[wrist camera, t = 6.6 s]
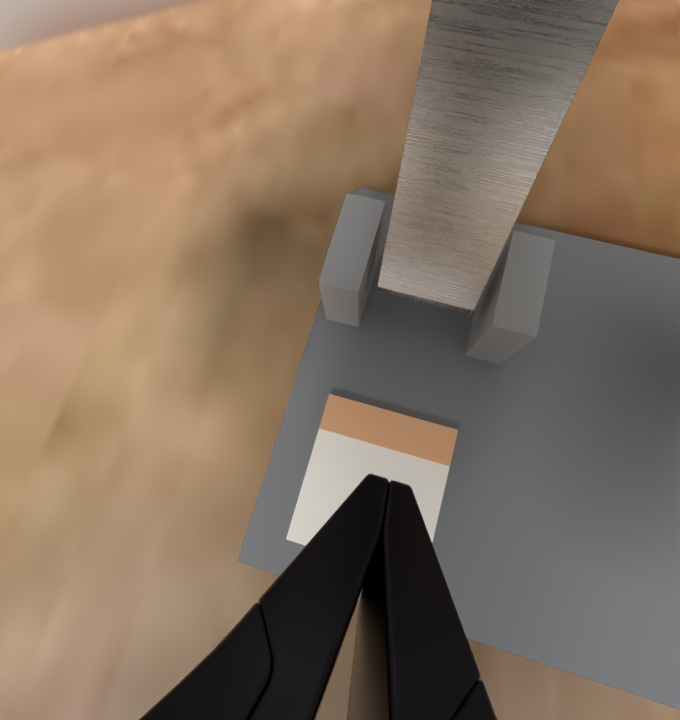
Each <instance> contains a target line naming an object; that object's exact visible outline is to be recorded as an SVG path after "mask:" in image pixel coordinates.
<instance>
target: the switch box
mask: <svg viewBox="0 0 680 720" xmlns="http://www.w3.org/2000/svg"><path fill="white" fill-rule="evenodd" d="M394 198H395V195H393V194H388V193H384V192H379V191H375V190H370V189H366V188H361V187H357V189H356V192H355V194H351V193H347V194H346V197H345V200H344V203H343V206H342V209H341V212H340V215H339V218H338V221H337V224H336V227H335V231H334V234H333V237H332V240H331V243H330V246H329V249H328V252H327V255H326V258H325V261H324V264H323V267H322V271H321V274H320V277H319V280H318V285H319V289H320V293H321V301H320V305H319V308H318V311H317V314H316V317H315V320H314V323H313V327H312V330H311V333H310V336H309V339H308V342H307V345H306V348H305V352H304V355H303V358H302V361H301V364H300V367H299V370H298V373H297V377H296V380H295V383H294V386H293V389H292V392H291V395H290V398H289V402H288V405H287V408H286V411H285V414H284V417H283V420H282V424H281V427H280V430H279V433H278V436H277V439H276V442H275V445H274V449H273V452H272V455H271V458H270V461H269V464H268V467H267V470H266V474H265V477H264V480H263V483H262V486H261V489H260V492H259V495H258V499H257V502H256V505H255V508H254V511H253V514H252V517H251V520H250V524H249V527H248V530H247V533H246V536H245V539H244V542H243V546H242V549H241V552H240V555H239V558H238V562H241V563H244V564H247V565H250V566H253V567H256V568H259V569H262V570H265V571H268V572H271V573H274V574H277V575H281V574H282V572H283V571H284V570H285V569H286V568H287V567H288V565H289V564H290V563H291V562H292V561H293V560H294V559H295V557H296V556H297V555H298V554H299V553H300V552H301V550H302V549H303V548H304V547H305V546H306V545H307V544H308V542H309V541H310V540H311V539H312V538H313V537H314V535H315V534H316V533H317V532H318V531H319V530H320V529H321V527H322V526H323V525H324V524H325V523H326V522H327V520H328V519H329V518H330V517H331V516H332V515H333V514H334V512H335V511H336V510H337V509H338V508H339V507H340V505H341V504H342V503H343V502H344V501H345V500H346V499H347V497H348V496H349V495H350V494H351V493H352V492H353V490H354V489H355V488H356V487H357V486H358V485H359V484H360V482H361V481H362V480H363V479H364V478H365V477H366V476H367V475H368V474H374V475H378V476H381V477H384V478H387V479H388V481H389V482H390V481H392V480H394V481H398V482H401V483H404V484H407V485H409V486H411V488H412V490H413V492H414V495H415V498H416V501H417V503H418V506H419V509H420V512H421V514H422V517H423V520H424V522H425V525H426V528H427V531H428V533H429V536H430V539H431V542H432V544H433V547H434V550H435V552H436V555H437V558H438V561H439V563H440V566H441V569H442V572H443V574H444V577H445V580H446V582H447V585H448V588H449V591H450V593H451V596H452V599H453V602H454V604H455V607H456V610H457V612H458V615H459V618H460V621H461V623H462V626H463V629H464V632H465V634H466V637H467V638H468V639H471V640H474V641H477V642H480V643H483V644H486V645H489V646H492V647H494V648H497V649H500V650H503V651H506V652H509V653H512V654H515V655H518V656H521V657H524V658H527V659H530V660H533V661H536V662H539V663H542V664H545V665H548V666H551V667H554V668H557V669H560V670H563V671H566V672H569V673H572V674H575V675H578V676H581V677H584V678H587V679H590V680H593V681H596V682H599V683H602V684H605V685H608V686H611V687H614V688H617V689H620V690H623V691H626V692H629V693H632V694H635V695H638V696H641V697H643V698H646V699H649V700H652V701H655V702H658V703H661V704H664V705H667V706H670V707H673V708H676V709H679V710H680V259H677V258H673V257H668V256H664V255H659V254H655V253H650V252H646V251H642V250H637V249H633V248H628V247H624V246H619V245H615V244H610V243H606V242H601V241H597V240H593V239H588V238H584V237H579V236H575V235H570V234H566V233H561V232H557V231H553V230H548V229H544V228H539V227H535V226H530V225H526V224H521V223H517V222H515V223H514V225H513V227H512V229H511V232H510V234H509V236H508V238H507V240H506V242H505V244H504V247H503V249H502V251H501V253H500V255H499V257H498V259H497V262H496V264H495V266H494V268H493V270H492V272H491V274H490V276H489V279H488V281H487V283H486V285H485V287H484V289H483V291H482V294H481V296H480V298H479V300H478V302H477V304H476V306H475V309H474V311H472V313H471V314H470V315H469V314H465V313H461V312H457V311H453V310H449V309H445V308H441V307H437V306H433V305H429V304H425V303H421V302H417V301H413V300H409V299H405V298H402V297H398V296H394V295H390V294H386V293H382V292H378V291H377V289H378V281H379V276H380V271H381V266H382V261H383V255H384V250H385V245H386V240H387V234H388V229H389V224H390V219H391V214H392V208H393V203H394ZM360 595H361V593H360ZM357 602H360V596H359V599H358V601H357Z"/></svg>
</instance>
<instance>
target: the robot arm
mask: <svg viewBox="0 0 680 720" xmlns="http://www.w3.org/2000/svg"><path fill="white" fill-rule="evenodd" d="M360 593H361V595H360ZM359 596H360V602H359V610H358V620H357V629H356V638H355V648H354V657H353V667H352V676H351V685H350V695H349V704H348V714H347V720H497V718H496V716H495V713H494V710H493V708H492V705H491V702H490V699H489V697H488V694H487V691H486V688H485V686H484V683H483V682H482V681H481V680H479V679H480V672H479V670H478V667H477V664H476V662H475V659H474V656H473V653H472V651H471V648H470V645H469V642H468V640H467V637H466V634H465V632H464V629H463V626H462V623H461V621H460V618H459V615H458V612H457V610H456V607H455V604H454V602H453V599H452V596H451V593H450V591H449V588H448V585H447V582H446V580H445V577H444V574H443V572H442V569H441V566H440V563H439V561H438V558H437V555H436V552H435V550H434V547H433V544H432V542H431V539H430V536H429V533H428V531H427V528H426V525H425V522H424V520H423V517H422V514H421V512H420V509H419V506H418V503H417V501H416V498H415V495H414V492H413V490H412V488H411V486H409V485H407V484H404V483H401V482H398V481H394V480H392V481H390V482H389V481H388V479H387V478H384V477H381V476H378V475H374V474H368V475H367V476H366V477H365V478H364V479H363V480H362V481H361V482H360V484H359V485H358V486H357V487H356V488H355V489H354V490H353V492H352V493H351V494H350V495H349V496H348V497H347V499H346V500H345V501H344V502H343V503H342V504H341V505H340V507H339V508H338V509H337V510H336V511H335V512H334V514H333V515H332V516H331V517H330V518H329V519H328V520H327V522H326V523H325V524H324V525H323V526H322V527H321V529H320V530H319V531H318V532H317V533H316V534H315V535H314V537H313V538H312V539H311V540H310V541H309V542H308V544H307V545H306V546H305V547H304V548H303V549H302V550H301V552H300V553H299V554H298V555H297V556H296V557H295V559H294V560H293V561H292V562H291V563H290V564H289V565H288V567H287V568H286V569H285V570H284V571H283V572H282V574H281V575H280V576H279V577H278V578H277V579H276V580H275V582H274V583H273V584H272V585H271V586H270V587H269V589H268V590H267V591H266V592H265V593H264V594H263V595H262V597H261V598H260V599H259V602H258V603H256V604H254V605H253V607H252V608H251V609H250V610H249V611H248V612H247V613H246V615H245V616H244V617H243V618H242V619H241V620H240V622H239V623H238V624H237V625H236V626H235V627H234V628H233V629H232V630H231V631H230V632H229V633H228V635H227V636H226V637H225V638H224V639H223V640H222V641H221V642H220V643H219V644H218V645H217V646H216V648H215V649H214V650H213V651H212V652H211V653H210V654H209V655H208V656H207V657H206V658H205V659H203V660H202V661H201V662H200V663H199V664H198V665H197V666H196V667H195V668H194V669H193V670H192V671H191V672H190V673H189V674H188V675H187V676H186V677H185V678H184V679H183V680H182V681H181V682H180V683H179V684H178V685H176V686H175V687H174V688H173V689H172V690H171V691H170V692H169V693H168V694H167V695H166V696H164V697H163V698H162V699H161V700H160V701H159V702H158V703H157V704H156V705H155V706H154V707H152V708H151V709H150V710H149V711H148V712H147V713H146V714H145V715H144V716H143V717H142V718H140V719H139V720H316V717H317V714H318V711H319V709H320V706H321V703H322V700H323V697H324V695H325V692H326V689H327V686H328V683H329V680H330V678H331V675H332V672H333V669H334V666H335V664H336V661H337V658H338V655H339V652H340V649H341V647H342V644H343V641H344V638H345V635H346V633H347V630H348V627H349V624H350V621H351V618H352V616H353V613H354V610H355V607H356V604H357V601H358V599H359ZM478 680H479V681H478Z"/></svg>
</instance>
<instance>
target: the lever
mask: <svg viewBox="0 0 680 720" xmlns="http://www.w3.org/2000/svg"><path fill="white" fill-rule="evenodd" d="M618 1H619V0H432V4H431V10H430V15H429V20H428V25H427V30H426V36H425V41H424V46H423V51H422V57H421V62H420V67H419V72H418V78H417V83H416V88H415V93H414V98H413V104H412V109H411V114H410V119H409V125H408V130H407V135H406V140H405V146H404V151H403V156H402V161H401V166H400V172H399V177H398V182H397V187H396V193H395V198H394V203H393V208H392V214H391V219H390V224H389V229H388V234H387V240H386V245H385V250H384V255H383V261H382V266H381V271H380V276H379V281H378V289H377V291H378V292H382V293H386V294H390V295H394V296H398V297H402V298H405V299H409V300H413V301H417V302H421V303H425V304H429V305H433V306H437V307H441V308H445V309H449V310H453V311H457V312H461V313H465V314H469V315H470V314H471V313H472V311H474V309H475V306H476V304H477V302H478V300H479V298H480V296H481V294H482V291H483V289H484V287H485V285H486V283H487V281H488V279H489V276H490V274H491V272H492V270H493V268H494V266H495V264H496V262H497V259H498V257H499V255H500V253H501V251H502V249H503V247H504V244H505V242H506V240H507V238H508V236H509V234H510V232H511V229H512V227H513V225H514V223H515V221H516V219H517V217H518V215H519V212H520V210H521V208H522V206H523V204H524V202H525V200H526V197H527V195H528V193H529V191H530V189H531V187H532V185H533V182H534V180H535V178H536V176H537V174H538V172H539V170H540V167H541V165H542V163H543V161H544V159H545V157H546V155H547V153H548V150H549V148H550V146H551V144H552V142H553V140H554V138H555V135H556V133H557V131H558V129H559V127H560V125H561V123H562V120H563V118H564V116H565V114H566V112H567V110H568V108H569V106H570V103H571V101H572V99H573V97H574V95H575V93H576V91H577V88H578V86H579V84H580V82H581V80H582V78H583V76H584V73H585V71H586V69H587V67H588V65H589V63H590V61H591V59H592V56H593V54H594V52H595V50H596V48H597V46H598V44H599V41H600V39H601V37H602V35H603V33H604V31H605V29H606V26H607V24H608V22H609V20H610V18H611V16H612V14H613V12H614V9H615V7H616V5H617V3H618Z"/></svg>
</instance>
